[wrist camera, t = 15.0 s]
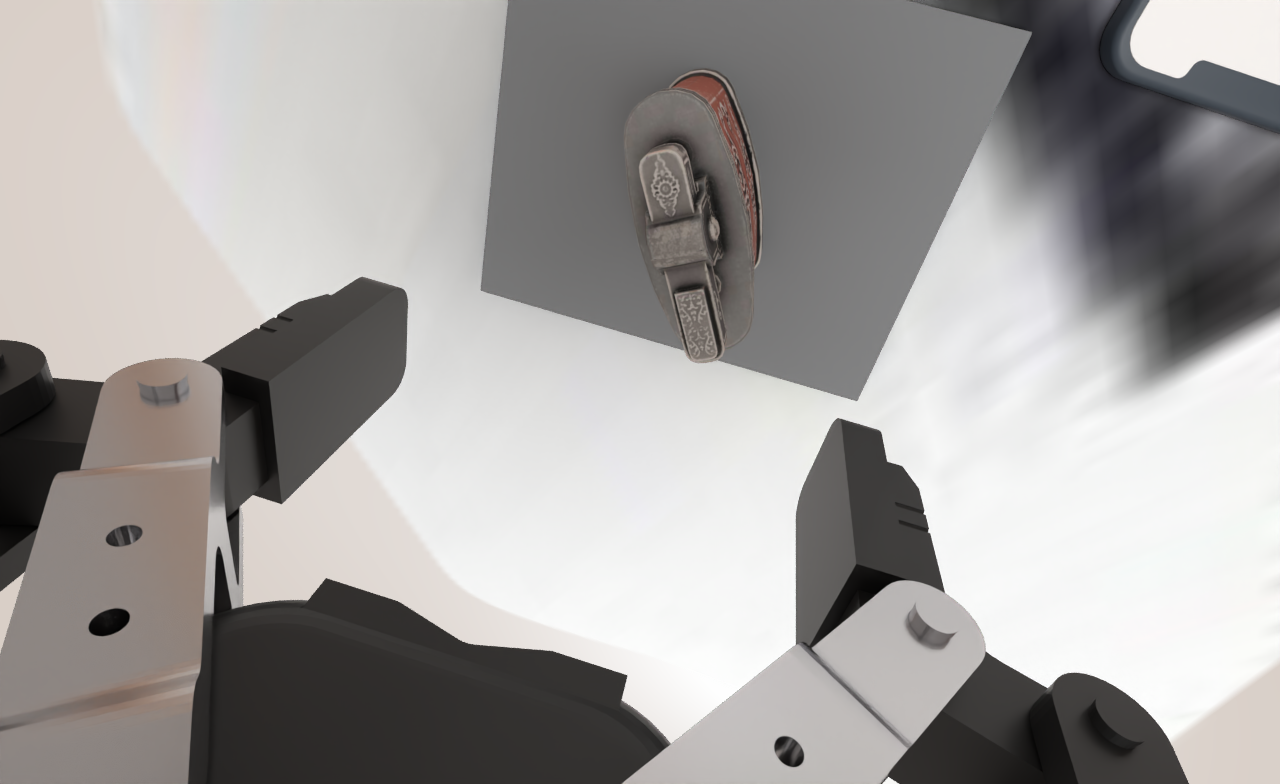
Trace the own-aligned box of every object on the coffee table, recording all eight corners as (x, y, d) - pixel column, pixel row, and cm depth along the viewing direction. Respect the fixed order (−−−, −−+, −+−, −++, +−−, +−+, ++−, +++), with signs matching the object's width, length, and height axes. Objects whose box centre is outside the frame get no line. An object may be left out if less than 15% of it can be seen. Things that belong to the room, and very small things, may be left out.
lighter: (650, 81, 25) (576, 121, 17) (739, 56, 24) (709, 84, 16) (696, 281, 29) (655, 397, 20) (776, 266, 28) (767, 382, 19)
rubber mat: (523, -98, 24) (517, -100, 23) (1027, 31, 22) (1032, 32, 22) (485, 285, 31) (480, 290, 31) (855, 394, 30) (856, 401, 30)
